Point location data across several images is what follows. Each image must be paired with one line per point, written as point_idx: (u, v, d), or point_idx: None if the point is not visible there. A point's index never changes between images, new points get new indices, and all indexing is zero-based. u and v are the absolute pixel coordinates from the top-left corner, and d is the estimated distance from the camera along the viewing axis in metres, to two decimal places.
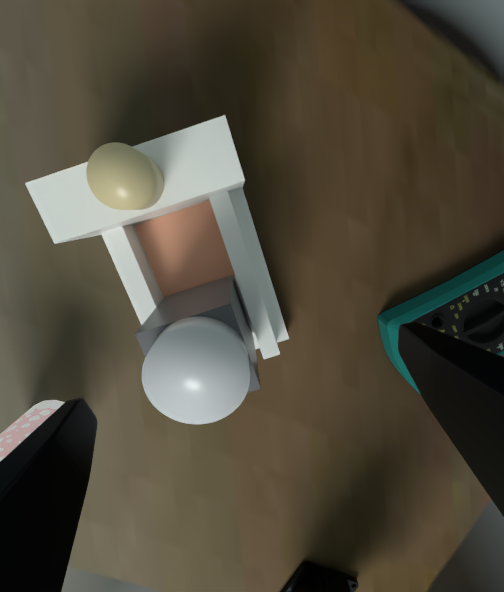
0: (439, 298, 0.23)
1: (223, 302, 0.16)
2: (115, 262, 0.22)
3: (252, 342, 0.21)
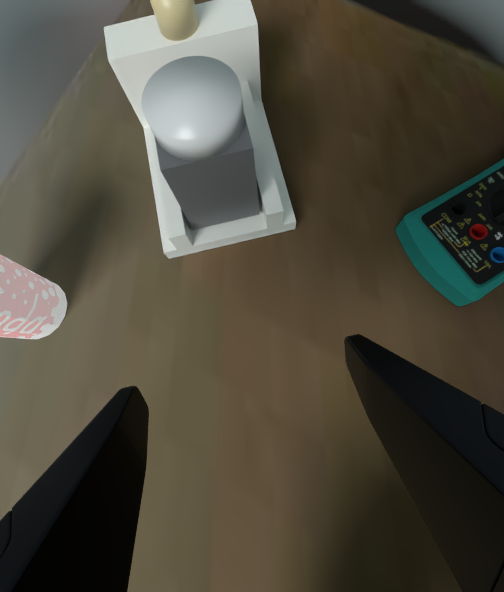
0: (452, 189, 0.23)
1: None
2: (148, 147, 0.26)
3: None
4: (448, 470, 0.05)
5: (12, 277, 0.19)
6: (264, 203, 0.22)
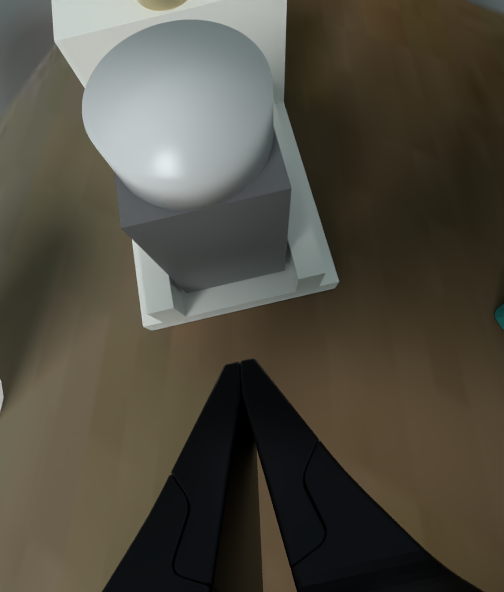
0: None
1: None
2: None
3: None
4: None
5: None
6: (295, 260, 0.14)
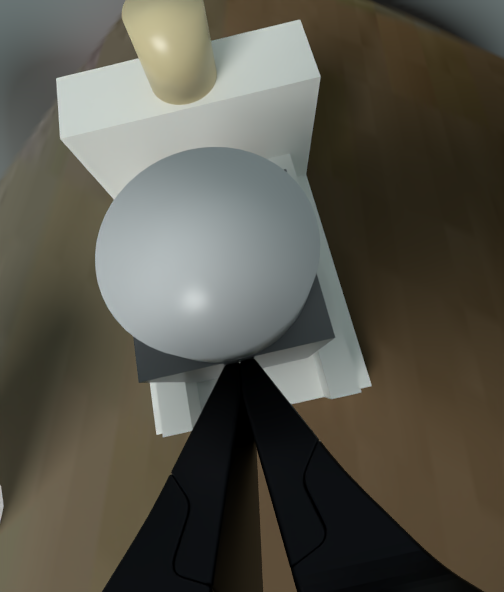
0: None
1: None
2: None
3: None
4: None
5: None
6: (327, 375, 0.13)
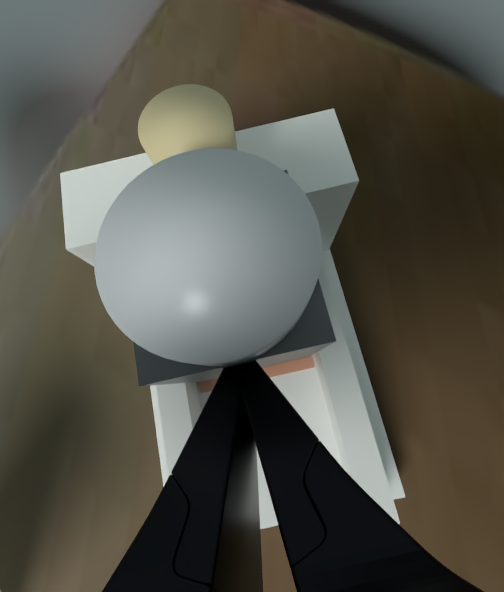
0: None
1: None
2: None
3: None
4: None
5: None
6: None
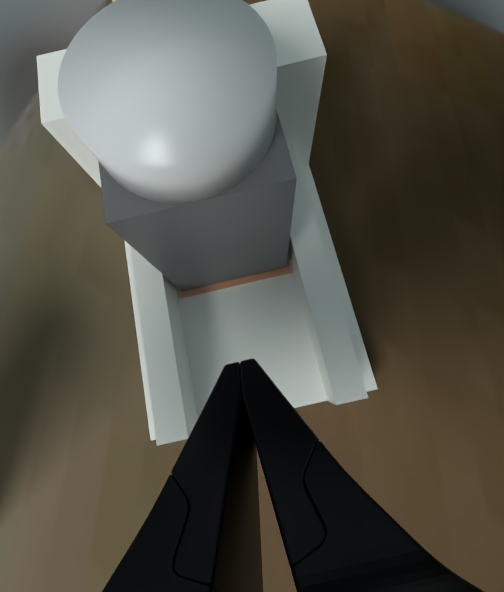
0: None
1: None
2: (126, 243, 0.16)
3: None
4: None
5: None
6: (331, 379, 0.12)
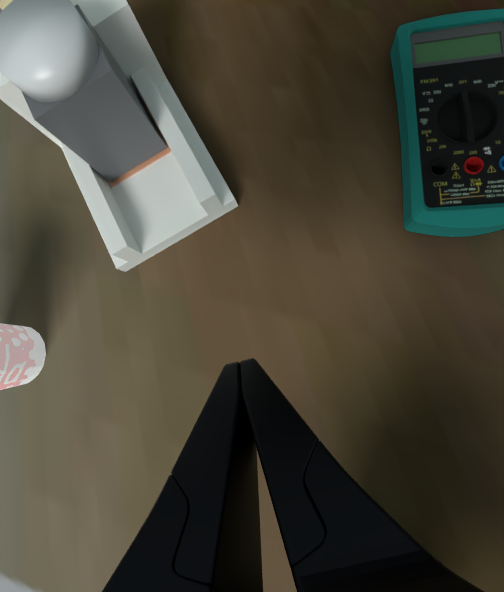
0: (411, 159, 0.20)
1: None
2: (71, 166, 0.25)
3: (148, 118, 0.21)
4: None
5: None
6: (194, 191, 0.21)
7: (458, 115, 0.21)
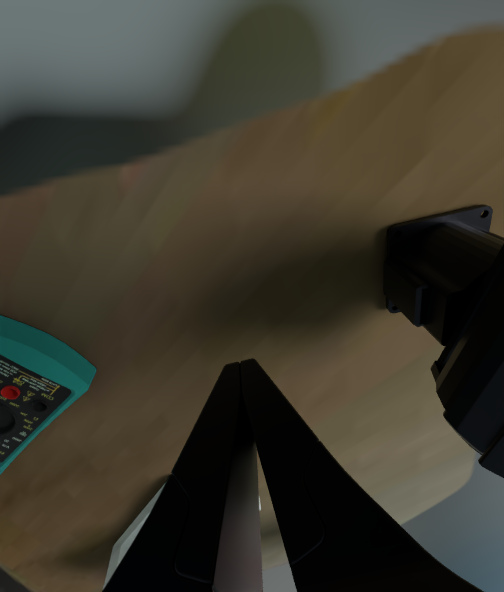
0: (54, 418, 0.23)
1: None
2: None
3: None
4: None
5: None
6: None
7: None
